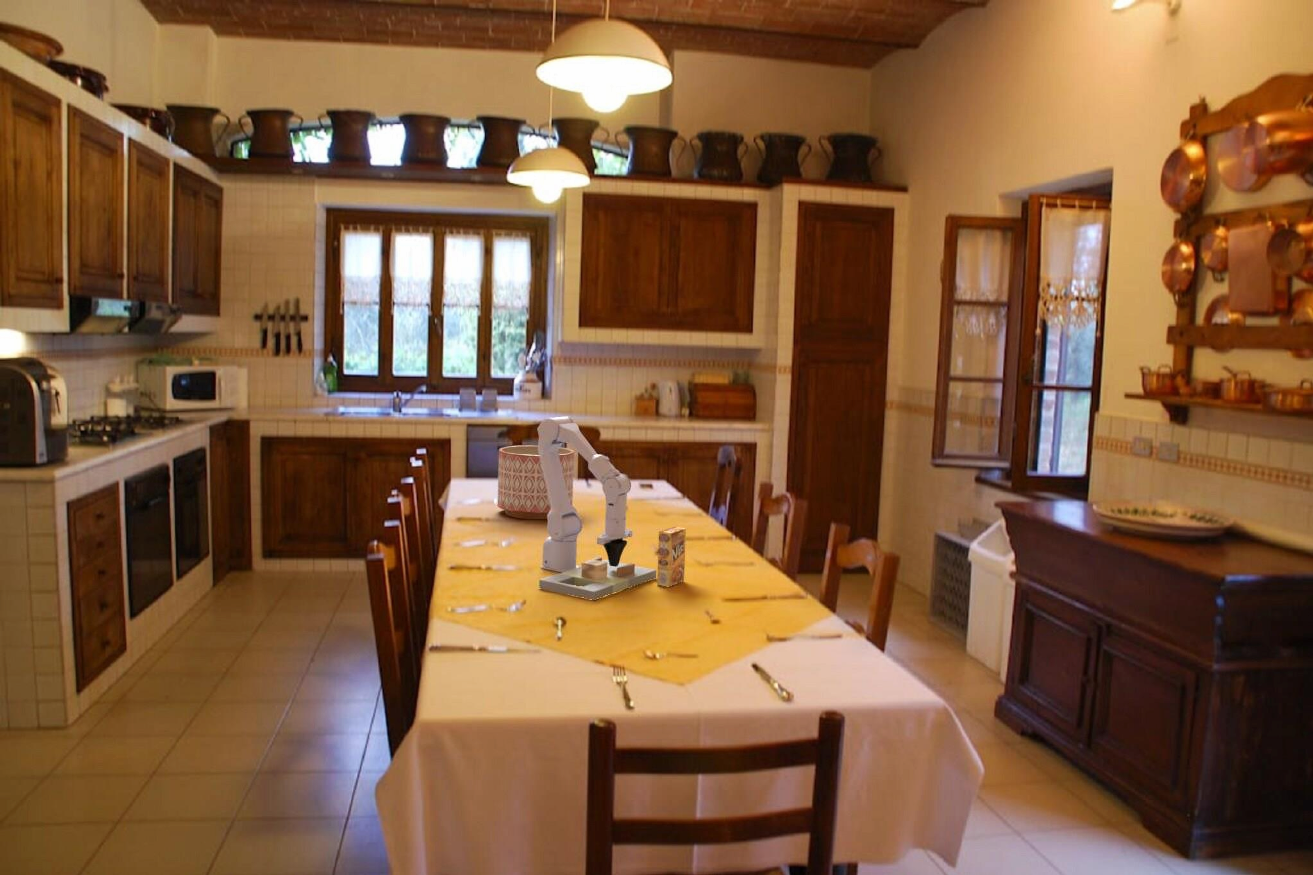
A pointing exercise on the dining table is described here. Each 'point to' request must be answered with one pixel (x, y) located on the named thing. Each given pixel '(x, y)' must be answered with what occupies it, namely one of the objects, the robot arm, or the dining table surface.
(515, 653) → the dining table surface
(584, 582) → the tunnel deck
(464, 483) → the dining table surface
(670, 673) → the dining table surface
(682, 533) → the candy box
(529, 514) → the planter
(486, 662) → the dining table surface
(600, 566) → the maple block
